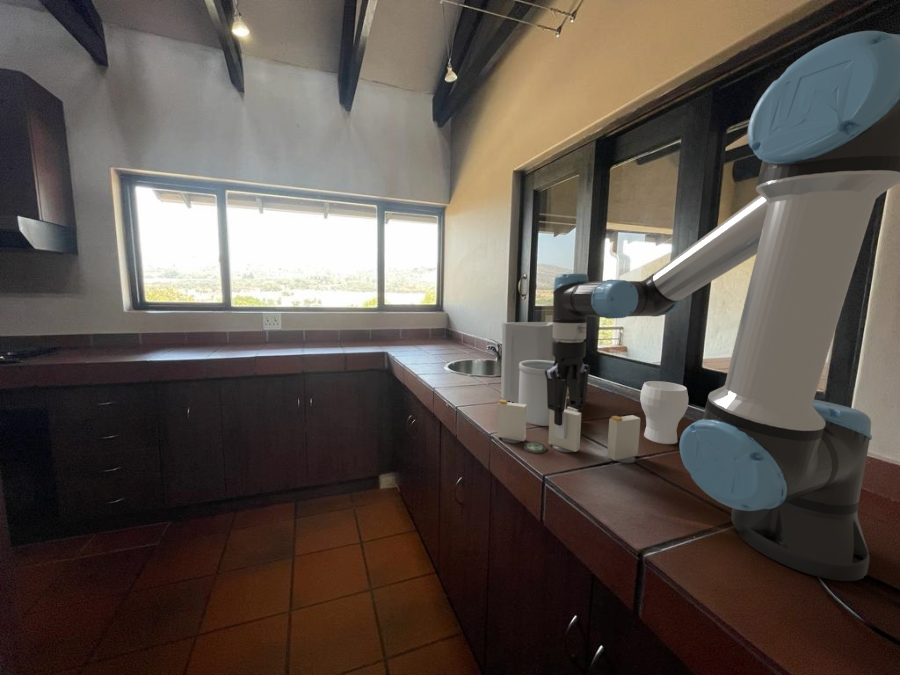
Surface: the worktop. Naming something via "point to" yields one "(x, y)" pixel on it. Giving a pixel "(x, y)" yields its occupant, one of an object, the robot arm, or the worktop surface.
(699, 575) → the worktop surface
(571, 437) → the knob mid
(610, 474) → the worktop surface
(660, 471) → the worktop surface
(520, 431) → the cream slab
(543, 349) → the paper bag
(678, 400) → the cup
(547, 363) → the utensil holder
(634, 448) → the slab with yellow pad
